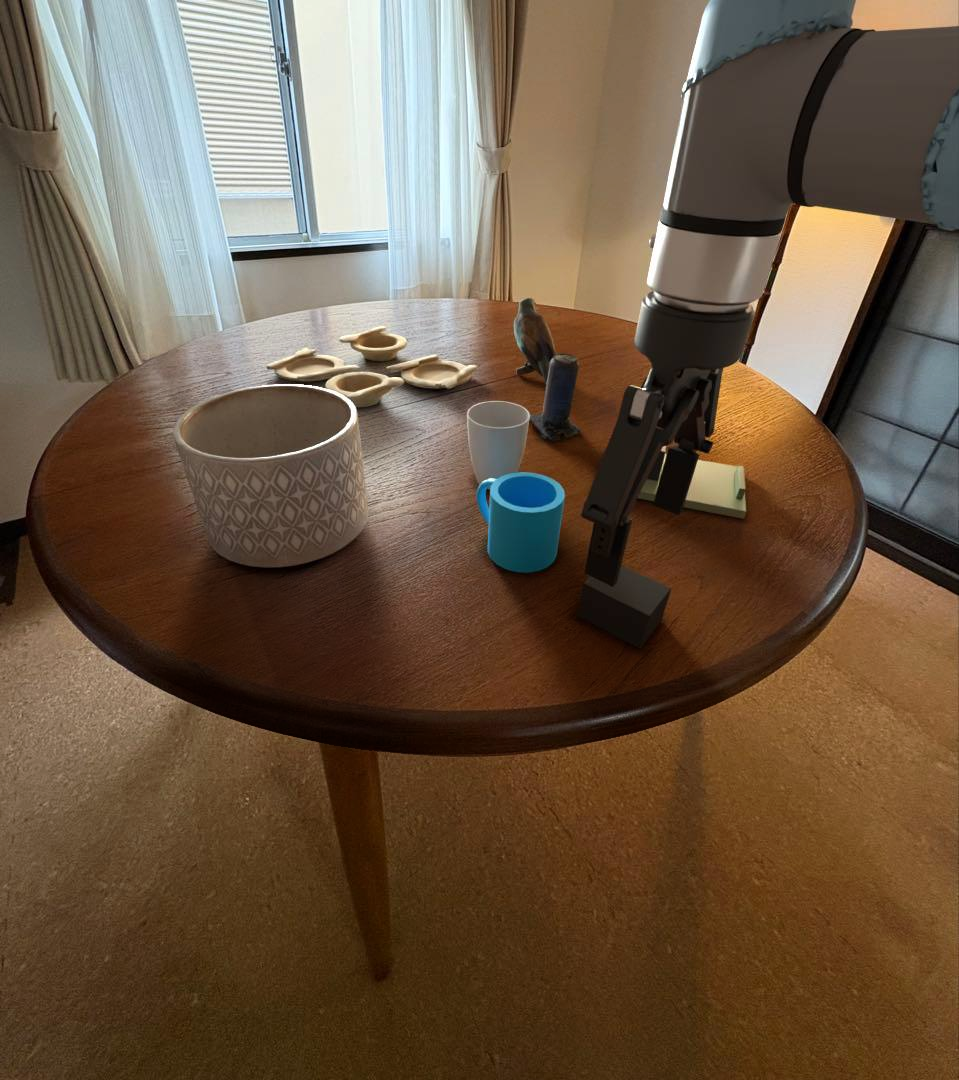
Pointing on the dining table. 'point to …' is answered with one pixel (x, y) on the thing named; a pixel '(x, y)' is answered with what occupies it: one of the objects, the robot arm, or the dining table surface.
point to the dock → (706, 487)
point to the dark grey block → (625, 605)
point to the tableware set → (367, 384)
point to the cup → (496, 438)
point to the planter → (275, 473)
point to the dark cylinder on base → (558, 398)
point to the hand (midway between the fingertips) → (636, 540)
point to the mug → (522, 520)
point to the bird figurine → (533, 339)
